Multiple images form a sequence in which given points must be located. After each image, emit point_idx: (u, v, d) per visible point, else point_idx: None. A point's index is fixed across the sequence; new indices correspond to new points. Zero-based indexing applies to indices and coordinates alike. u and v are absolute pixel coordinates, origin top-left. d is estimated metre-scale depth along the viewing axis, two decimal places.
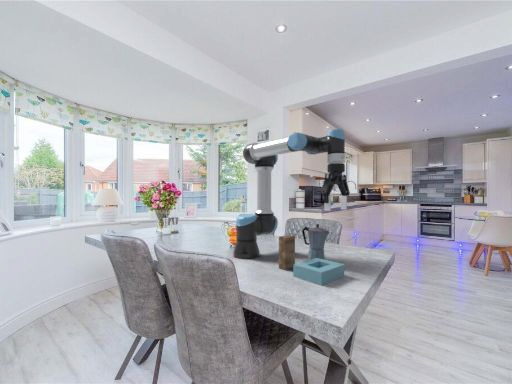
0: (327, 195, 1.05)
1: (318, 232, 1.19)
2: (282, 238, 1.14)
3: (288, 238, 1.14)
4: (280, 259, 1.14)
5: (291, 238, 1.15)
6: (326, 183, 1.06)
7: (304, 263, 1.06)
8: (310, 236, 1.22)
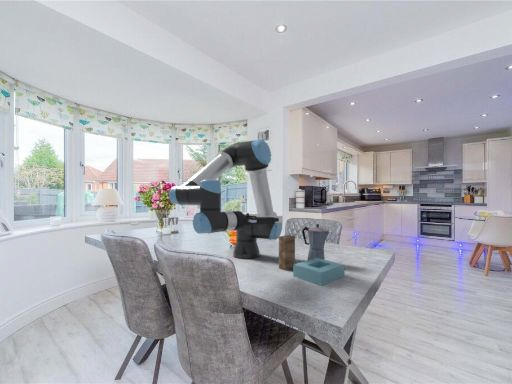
0: None
1: (318, 232, 1.19)
2: (282, 238, 1.14)
3: (288, 238, 1.14)
4: (280, 259, 1.14)
5: (291, 238, 1.15)
6: None
7: (304, 263, 1.06)
8: (310, 236, 1.22)
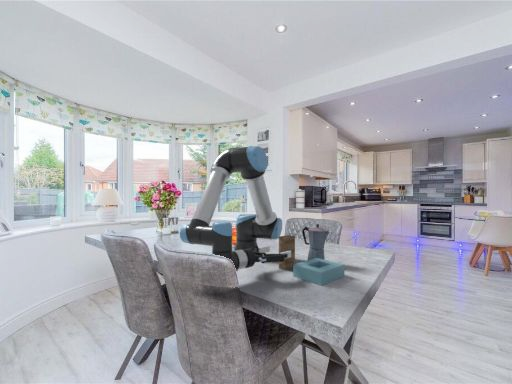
0: (256, 252, 1.14)
1: (318, 232, 1.19)
2: (282, 238, 1.14)
3: (288, 238, 1.14)
4: None
5: (291, 238, 1.15)
6: None
7: (304, 263, 1.06)
8: (310, 236, 1.22)
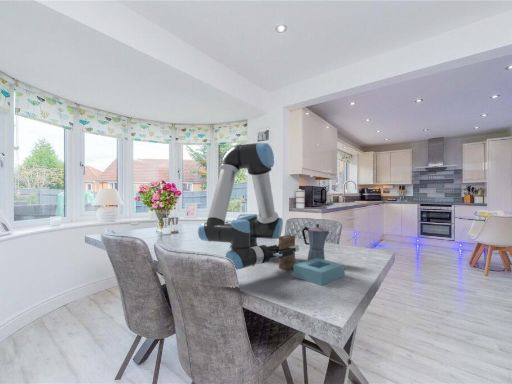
0: None
1: (318, 232, 1.19)
2: (282, 238, 1.14)
3: (288, 238, 1.14)
4: (280, 259, 1.14)
5: (291, 238, 1.15)
6: None
7: (304, 263, 1.06)
8: (310, 236, 1.22)
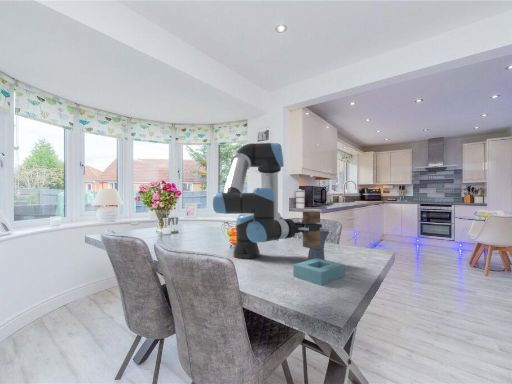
0: None
1: None
2: (307, 213, 1.03)
3: (313, 213, 1.03)
4: (304, 236, 1.04)
5: (316, 213, 1.04)
6: None
7: (304, 263, 1.06)
8: None
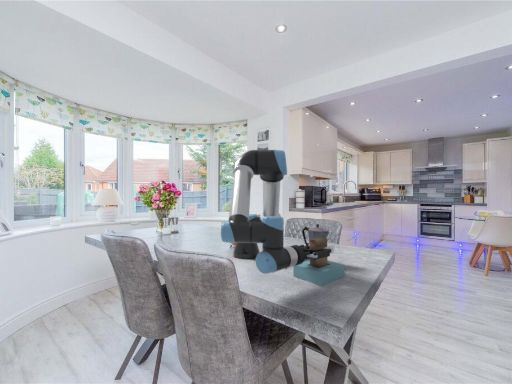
0: None
1: (318, 232, 1.19)
2: (314, 241, 1.01)
3: (321, 241, 1.02)
4: (312, 264, 1.02)
5: (323, 241, 1.03)
6: None
7: (304, 263, 1.06)
8: (310, 236, 1.22)
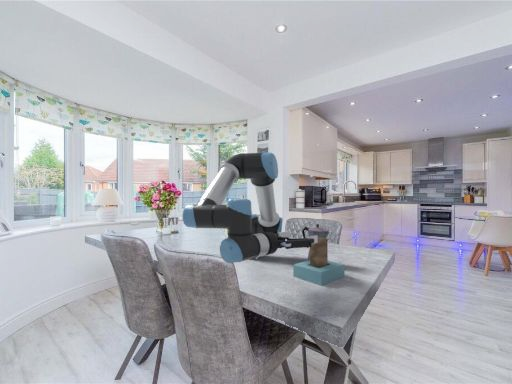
0: None
1: (318, 232, 1.19)
2: None
3: (321, 241, 1.02)
4: (312, 264, 1.02)
5: (324, 241, 1.03)
6: None
7: (304, 263, 1.06)
8: None
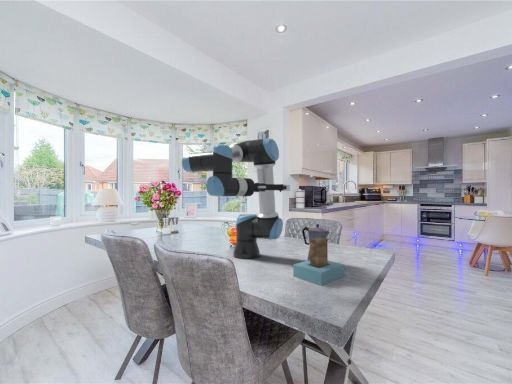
0: None
1: (318, 232, 1.19)
2: (314, 241, 1.02)
3: (321, 241, 1.02)
4: (312, 264, 1.02)
5: (324, 241, 1.03)
6: None
7: (304, 263, 1.06)
8: (310, 236, 1.22)
